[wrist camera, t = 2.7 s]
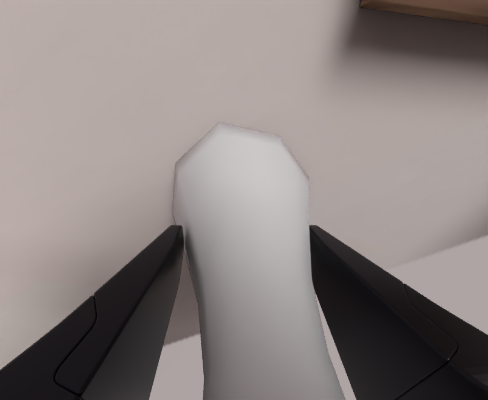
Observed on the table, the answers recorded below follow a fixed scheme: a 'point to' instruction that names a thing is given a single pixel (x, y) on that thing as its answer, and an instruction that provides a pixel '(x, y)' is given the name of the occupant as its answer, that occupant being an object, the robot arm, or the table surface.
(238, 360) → the flask
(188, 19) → the table surface
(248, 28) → the table surface
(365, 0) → the tray
